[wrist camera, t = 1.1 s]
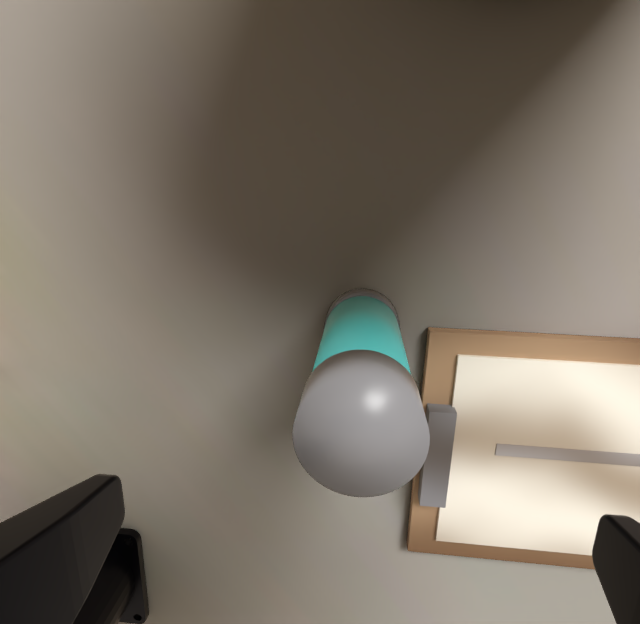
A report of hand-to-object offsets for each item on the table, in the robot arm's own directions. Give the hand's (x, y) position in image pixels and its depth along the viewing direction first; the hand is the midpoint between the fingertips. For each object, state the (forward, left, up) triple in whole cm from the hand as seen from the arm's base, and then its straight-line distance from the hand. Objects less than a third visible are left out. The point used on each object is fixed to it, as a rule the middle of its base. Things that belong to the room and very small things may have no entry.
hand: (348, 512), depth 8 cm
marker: (0, 0, -12) cm, 12 cm away
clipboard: (-6, -10, -12) cm, 17 cm away
